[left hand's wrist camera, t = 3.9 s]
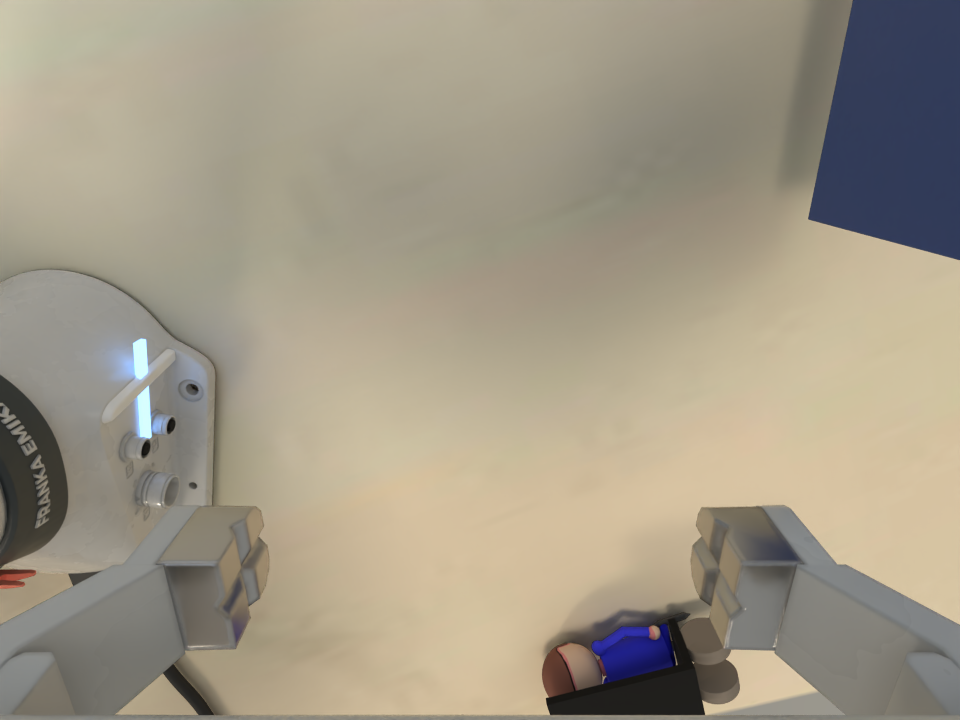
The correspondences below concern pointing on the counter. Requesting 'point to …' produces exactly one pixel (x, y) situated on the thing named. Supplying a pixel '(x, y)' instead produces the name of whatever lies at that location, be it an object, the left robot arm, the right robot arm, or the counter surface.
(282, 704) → the counter surface
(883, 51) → the box
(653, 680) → the figurine character
